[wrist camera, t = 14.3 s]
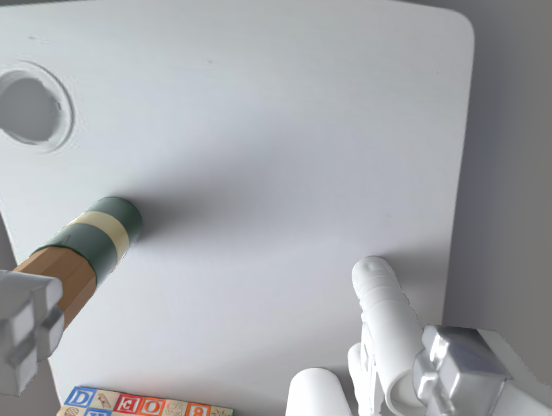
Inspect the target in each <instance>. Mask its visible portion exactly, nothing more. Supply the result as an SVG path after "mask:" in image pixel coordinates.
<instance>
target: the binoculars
mask: <svg viewBox="0 0 552 416" xmlns="http://www.w3.org/2000/svg"><path fill="white" fill-rule="evenodd" d="M352 279H353V286H354V289H355V291H356V293H357V297H358V298H359V301H360V306H361V308H362V309H363V311H364V312H363V313H362V314H361V317H362V320H363V327H362V338H361V342H359V343H356V344H355V345H353V346H352V347H351V349H350V350H349V352H348V361H349V371H350V375H351V377H352V379H353V384H354V387H355V397H356V400H357V401H358V404H359V415H360V416H424V415H425V412H426V409H427V408H426V407H425V406H424V405H423V404H422V403H421V402H420V401H419V400H418V399H417V397H416V395H415V392H414V389H413V384H412V366H413V363H414V359H415V355H416V354H418V353H419V352H420V351H422V350H423V349H424V348H425V347H424V345H423V343H422V341H421V336H422V333H423V329H422V327H421V326H420V324H419V322H418V319H417V315H416V313H415V311H414V309H413V308H412V307H411V306H410V303H409V299H408V297H407V296H406V294H405V293H404V292H403V291H402V289H401V286H400V284H399V281H398V279H397V276H396V274H395V272H394V270H393V269H392V268H391V267H390V265H389V264H388V262H387V261H386V260H384V259H382V258H380V257H376V256H371V257H366V258H364V259H361V260H360V261H359V262H358V263H357V264H356V265H355V266H354V268H353V271H352Z"/></svg>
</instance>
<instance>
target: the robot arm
mask: <svg viewBox="0 0 552 416" xmlns="http://www.w3.org/2000/svg"><path fill="white" fill-rule="evenodd" d="M62 296H63V290H62V282H61V281H60V280H59V279H58V278H55V277H48V276H41V275H34V274H27V273H20V272H10V271H6V270H0V395H2V396H13V397H19V395H20V394H21V393H22V392H23V391H24V389H25V388H26V387H27V386H28V384H29V383H30V382H31V380H32V379H33V378H34V377H35V375H36V374H37V373H38V362H40V361H42V360H44V359H46V358H48V357H50V356H51V355H52V353H53V352H54V351H55V349H56V348H57V347H58V344H59V342H60V339H61V337H62V334H63V330H64V323H65V322H64V312H63V311H62V310H61V308H60V307H59V306H58V305H57V302H58V301H59V300H60V299H61V298H62ZM421 341H422V343H423V345H424V347H425V348H424V349H423V350H422V351H420V352H419V353H418V354H416V355H415V359H414V363H413V366H412V384H413V389H414V392H415V395H416V397H417V399H418V400H419V401H420V402H421V403H422V404H423V405H424V406H425V407H426V408H427V409H426V412H425V415H424V416H552V387H551V386H550V385H548V384H542V383H539V381H538V380H537V379H536V378H535V376H534V375H533V374H532V373H531V371H530V370H529V369H528V368H527V366H526V365H525V364H524V363H523V361H522V360H521V359H520V358H519V356H518V355H517V354H516V353H515V351H514V350H513V349H512V348H511V346H510V345H509V344H508V343H507V341H506V340H505V339H504V338H503V336H502V335H501V334H500V333H498V332H497V331H495V330H486V329H474V328H472V329H471V328H461V327H450V326H441V325H432V324H427V326H426V327H425V329H424V330H423V333H422V336H421Z"/></svg>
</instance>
